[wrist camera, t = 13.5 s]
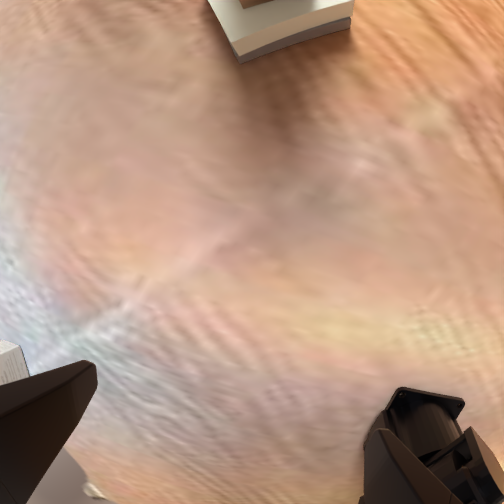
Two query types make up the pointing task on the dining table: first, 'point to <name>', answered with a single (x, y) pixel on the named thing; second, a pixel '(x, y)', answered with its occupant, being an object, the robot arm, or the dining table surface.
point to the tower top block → (275, 19)
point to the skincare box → (11, 363)
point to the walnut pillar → (252, 3)
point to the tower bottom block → (294, 39)
